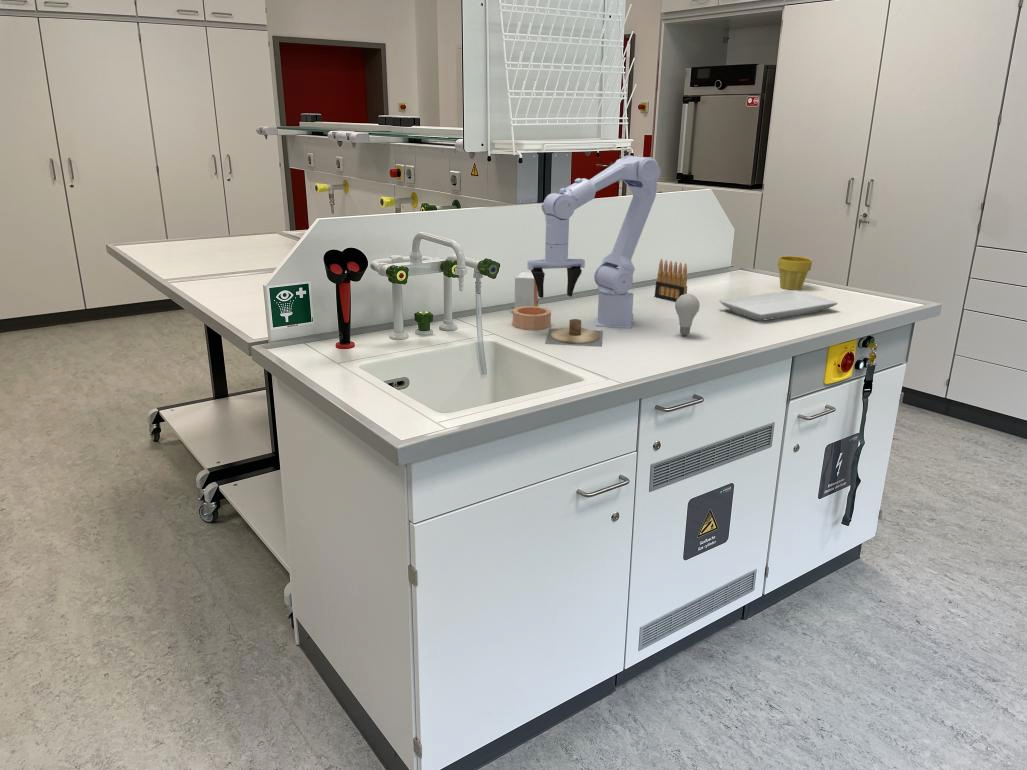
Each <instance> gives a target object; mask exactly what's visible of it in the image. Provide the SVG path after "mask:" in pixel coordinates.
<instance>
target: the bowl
mask: <svg viewBox="0 0 1027 770" xmlns="http://www.w3.org/2000/svg"><path fill="white" fill-rule="evenodd" d="M551 324H552V310H551V309H549V308H547V307H543V306H539V305H538V306H525V307H518V308H515V307H514V308H513V310H512V326H513V327H515V328H517V329H521V330H531V331H537V330H546V329H548V328H550V327H551Z"/></svg>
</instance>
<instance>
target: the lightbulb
mask: <svg viewBox="0 0 1027 770" xmlns="http://www.w3.org/2000/svg"><path fill="white" fill-rule="evenodd" d="M674 303H675V304H674V308H675V311H676V314H677V316H678V322H679V323H678V324H679V334H681V335H682V336H684V337H686V336H688V335H690V333H691V327H692V325H693V321H694V319H695V316H697V314H698V312H699V311H700V307H701V306H700V301H699V299H698V297H696V296H695V295H694V294H693V293H687V294H684V295H681V296H680V297H679V298H678V299H677V300H676V302H674Z"/></svg>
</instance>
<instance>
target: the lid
mask: <svg viewBox="0 0 1027 770" xmlns="http://www.w3.org/2000/svg"><path fill="white" fill-rule="evenodd" d="M555 329H556V330H554V331H552V332H551V337H552V339H554V340H556V341H559V342H563V343H569V344H586V343H592V342H595V341H597V340H598V338H599V334H598V333H597V332H595V331H593V330H594V329H588V328H583V327H582V319H579V318H573V319H569V326H568V327H562V328H561V327H560V328H555Z"/></svg>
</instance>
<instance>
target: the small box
mask: <svg viewBox="0 0 1027 770" xmlns="http://www.w3.org/2000/svg"><path fill="white" fill-rule="evenodd" d="M525 306H538V307H539V296H538V289H537V285H536V282H535V279H534V277H533V274H532V272H526V271H525V272H524V271H520V272H519V273H518V274H517V275H516V276H514V309H515V308H518V307H525Z"/></svg>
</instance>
